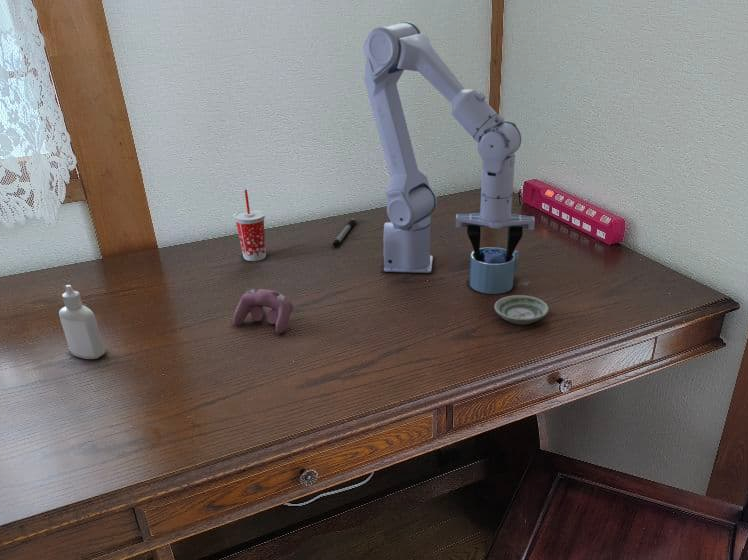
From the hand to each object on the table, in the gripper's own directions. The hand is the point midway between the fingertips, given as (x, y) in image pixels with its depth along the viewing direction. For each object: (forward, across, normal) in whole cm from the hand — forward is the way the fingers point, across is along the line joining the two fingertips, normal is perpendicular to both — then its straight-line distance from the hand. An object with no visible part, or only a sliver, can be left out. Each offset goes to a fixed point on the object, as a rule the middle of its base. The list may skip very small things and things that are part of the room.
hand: (492, 263), depth 141 cm
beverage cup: (+5, -49, +10) cm, 50 cm away
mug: (+4, +1, +1) cm, 5 cm away
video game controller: (+5, -40, -19) cm, 45 cm away
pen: (+5, -32, +24) cm, 40 cm away
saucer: (+5, +5, -14) cm, 15 cm away
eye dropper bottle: (+5, -66, -31) cm, 73 cm away
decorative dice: (+2, 0, 0) cm, 2 cm away
